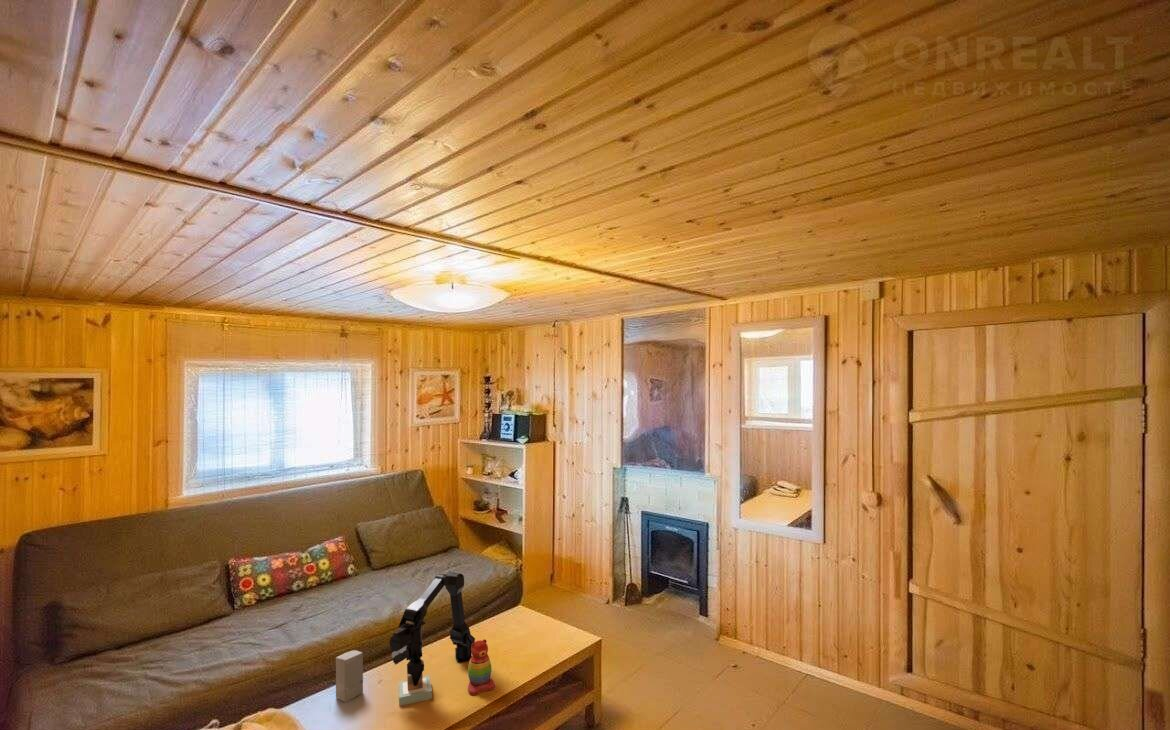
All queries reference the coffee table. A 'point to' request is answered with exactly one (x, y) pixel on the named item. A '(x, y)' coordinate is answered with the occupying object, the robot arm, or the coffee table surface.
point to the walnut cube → (411, 685)
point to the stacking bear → (479, 669)
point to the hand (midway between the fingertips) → (414, 679)
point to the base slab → (414, 692)
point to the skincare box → (349, 675)
